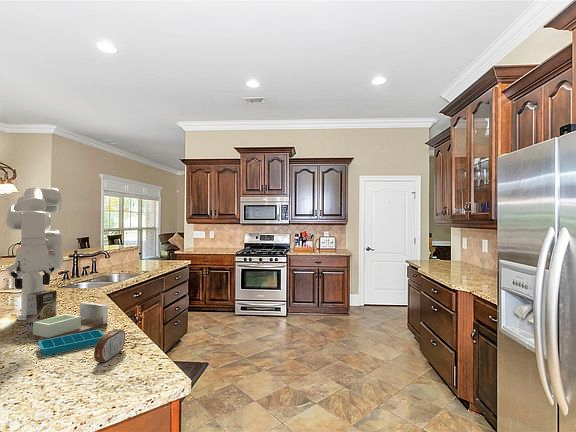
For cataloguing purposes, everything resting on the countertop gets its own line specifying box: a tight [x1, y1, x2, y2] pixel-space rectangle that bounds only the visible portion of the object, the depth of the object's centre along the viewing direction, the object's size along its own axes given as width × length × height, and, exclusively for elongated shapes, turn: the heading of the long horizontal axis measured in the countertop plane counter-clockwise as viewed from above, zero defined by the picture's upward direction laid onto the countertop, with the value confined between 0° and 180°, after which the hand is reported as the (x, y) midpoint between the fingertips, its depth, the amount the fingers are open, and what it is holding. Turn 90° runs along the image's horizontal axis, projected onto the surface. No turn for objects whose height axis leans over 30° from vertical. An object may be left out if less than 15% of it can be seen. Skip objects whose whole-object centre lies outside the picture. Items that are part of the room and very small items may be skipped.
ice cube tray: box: [37, 329, 106, 356], centre depth 124 cm, size 12×20×3 cm, turn 132°
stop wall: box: [79, 301, 109, 324], centre depth 152 cm, size 16×2×8 cm, turn 66°
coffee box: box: [25, 289, 58, 333], centre depth 145 cm, size 9×6×16 cm
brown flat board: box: [26, 320, 108, 341], centre depth 142 cm, size 16×24×1 cm, turn 156°
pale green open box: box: [32, 313, 81, 338], centre depth 137 cm, size 10×13×5 cm
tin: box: [93, 328, 126, 363], centre depth 113 cm, size 15×3×8 cm, turn 178°
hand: (32, 286), depth 128 cm, fingers open, 9 cm apart
